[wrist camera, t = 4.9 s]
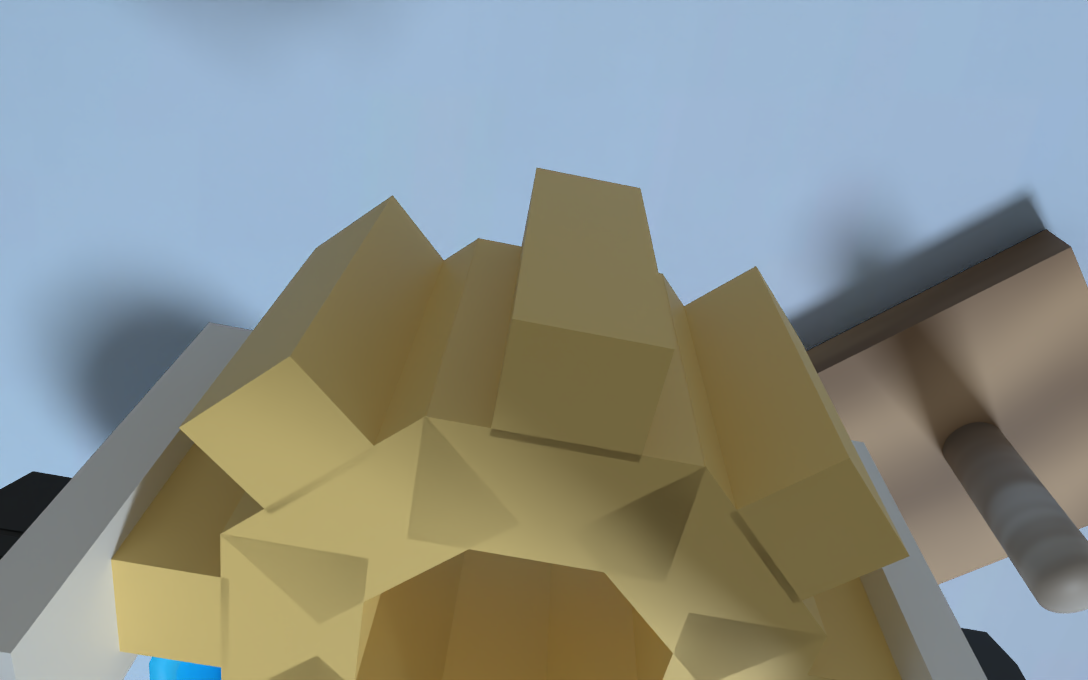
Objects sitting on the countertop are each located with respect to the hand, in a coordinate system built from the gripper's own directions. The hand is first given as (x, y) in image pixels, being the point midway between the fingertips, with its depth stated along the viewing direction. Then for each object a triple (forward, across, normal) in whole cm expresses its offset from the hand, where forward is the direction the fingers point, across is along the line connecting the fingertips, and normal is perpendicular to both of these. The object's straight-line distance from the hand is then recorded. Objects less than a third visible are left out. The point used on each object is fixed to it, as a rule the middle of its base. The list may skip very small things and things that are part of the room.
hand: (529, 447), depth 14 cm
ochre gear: (0, 0, 0) cm, 0 cm away
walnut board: (+13, +12, -9) cm, 20 cm away
